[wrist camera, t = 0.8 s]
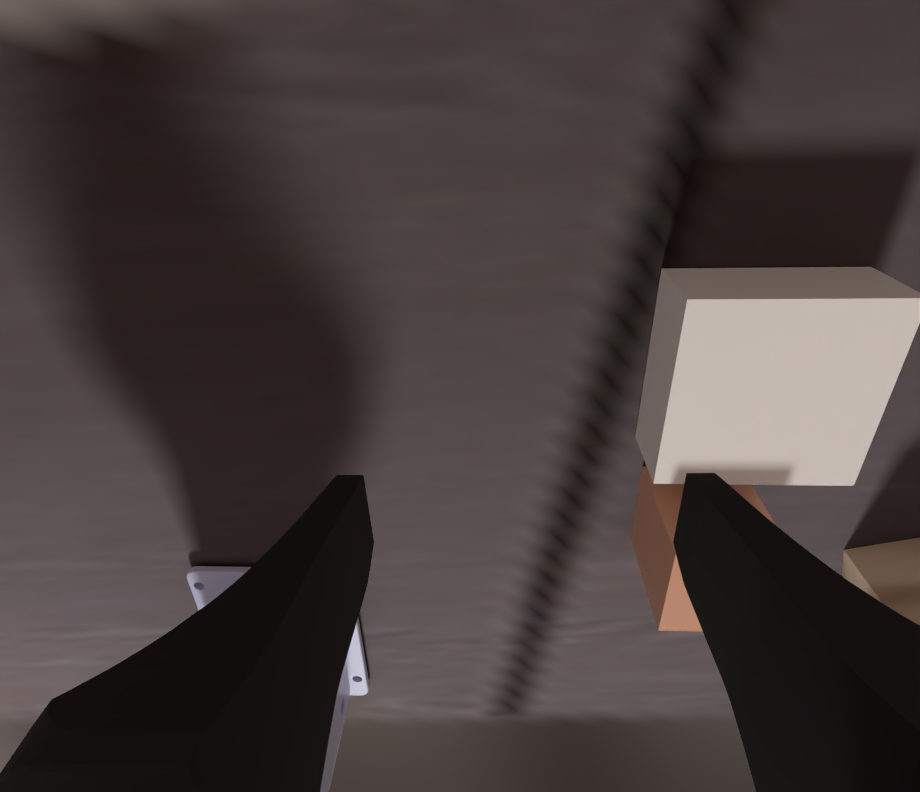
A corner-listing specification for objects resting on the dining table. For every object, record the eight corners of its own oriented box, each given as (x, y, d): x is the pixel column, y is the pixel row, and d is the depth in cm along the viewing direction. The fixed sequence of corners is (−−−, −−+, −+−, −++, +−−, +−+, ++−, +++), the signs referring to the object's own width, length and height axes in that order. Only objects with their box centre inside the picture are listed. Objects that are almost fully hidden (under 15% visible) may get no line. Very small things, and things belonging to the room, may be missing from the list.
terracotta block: (720, 537, 26) (766, 632, 22) (630, 536, 26) (658, 630, 22) (739, 466, 24) (794, 555, 20) (642, 465, 24) (675, 553, 20)
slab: (812, 437, 23) (853, 485, 20) (635, 436, 23) (653, 483, 21) (871, 266, 20) (929, 298, 17) (661, 268, 20) (687, 299, 17)
